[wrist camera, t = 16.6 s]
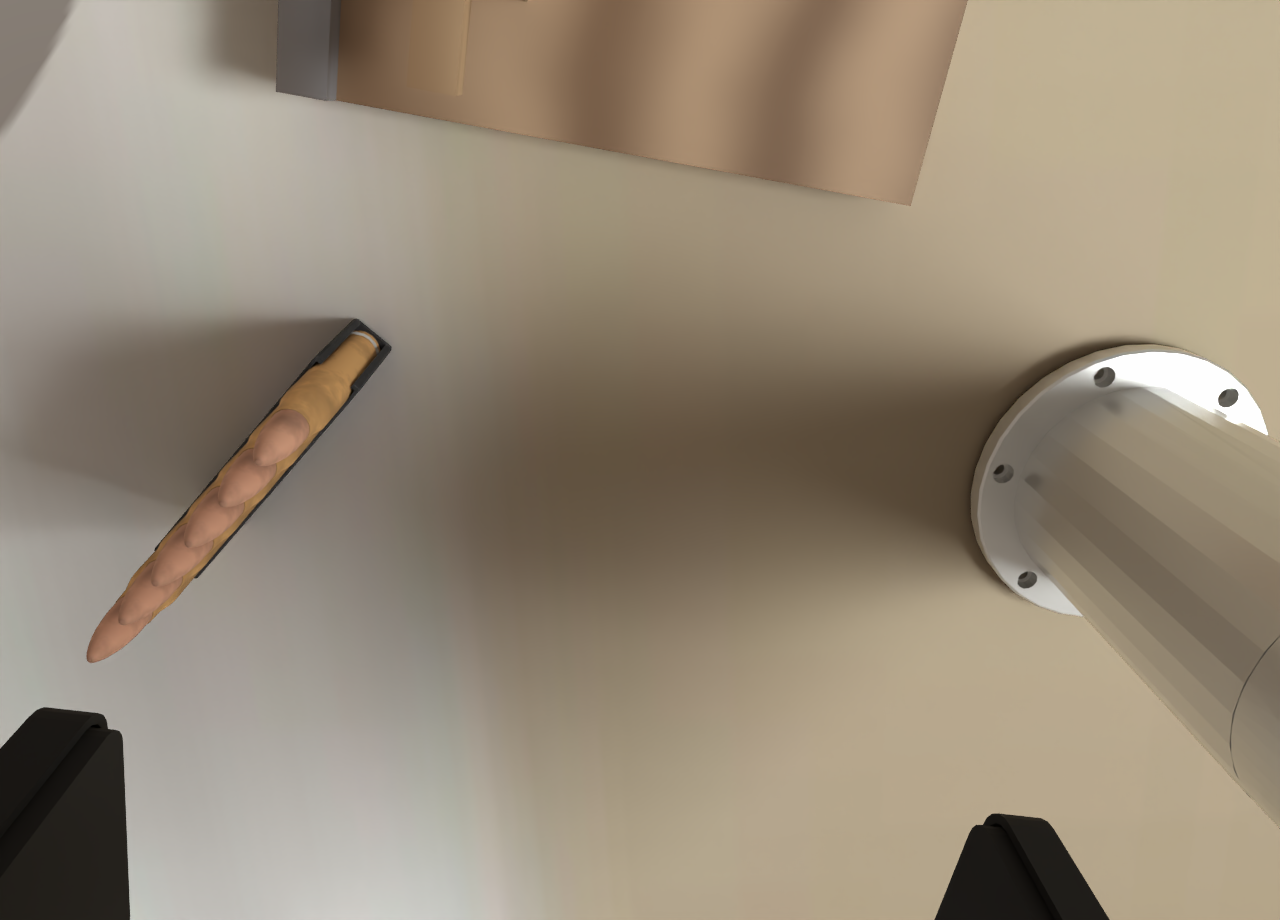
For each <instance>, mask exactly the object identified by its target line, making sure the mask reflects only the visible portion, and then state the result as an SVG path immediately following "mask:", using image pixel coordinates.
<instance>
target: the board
mask: <svg viewBox="0 0 1280 920" xmlns="http://www.w3.org/2000/svg"><path fill="white" fill-rule="evenodd" d="M967 1H968V0H528V2H525V1H520V0H472V2H471V12H470V22H469V32H468V42H467V52H466V63H465V73H464V83H463V93H462V95H459V96H452V95H446V94H441V93H436V92H431V91H425V90H420V89H415V88H410V87H406V85H407V72H408V58H409V45H410V32H411V19H412V6H413V0H279V1H278V38H277V76H276V92H281V93H287V94H292V95H298V96H303V97H308V98H314V99H319V100H325V101H332V100H337V101H343V102H348V103H354V104H359V105H364V106H370V107H375V108H381V109H386V110H392V111H397V112H403V113H408V114H413V115H419V116H424V117H430V118H435V119H441V120H446V121H451V122H457V123H462V124H468V125H473V126H479V127H484V128H490V129H495V130H500V131H506V132H511V133H517V134H522V135H528V136H533V137H538V138H544V139H549V140H555V141H560V142H566V143H571V144H577V145H582V146H587V147H593V148H598V149H604V150H609V151H615V152H620V153H626V154H631V155H636V156H642V157H647V158H653V159H658V160H664V161H669V162H674V163H680V164H685V165H691V166H696V167H702V168H707V169H713V170H718V171H723V172H729V173H734V174H740V175H745V176H751V177H756V178H762V179H767V180H772V181H778V182H783V183H789V184H794V185H800V186H805V187H810V188H816V189H821V190H827V191H832V192H838V193H843V194H849V195H854V196H859V197H865V198H870V199H876V200H881V201H887V202H892V203H898V204H903V205H908V206H911V202H912V199H913V195H914V191H915V188H916V184H917V181H918V177H919V173H920V170H921V166H922V163H923V159H924V156H925V152H926V148H927V145H928V141H929V138H930V134H931V130H932V127H933V123H934V120H935V116H936V112H937V109H938V105H939V102H940V98H941V95H942V91H943V87H944V84H945V80H946V77H947V73H948V69H949V66H950V62H951V59H952V55H953V51H954V48H955V44H956V41H957V37H958V34H959V30H960V26H961V23H962V19H963V16H964V12H965V8H966V5H967Z"/></svg>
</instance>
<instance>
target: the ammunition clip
mask: <svg viewBox="0 0 1280 920" xmlns="http://www.w3.org/2000/svg"><path fill="white" fill-rule="evenodd" d="M390 351H391V346H390V345H389V344H388V343H386V342H385V341H384V340H383V339H381V338H380V337H379V336H378V335H377V334H375V333H374V332H373V331H372V330H370V329H369V328H368V327H367V326H366V325H364V324H363V323H362V322H361V321H359V320H358V319H354V320H353V321H352V322H351V323H350V324H349V325H348V326H347V327H346V328H345V329H344V330H342V331H341V332H340V333H339V334H338V335H337V336H336V337H335V338H334V339H333V340H332V341H331V342H330V343H329V344H328V345H327V346H326V347H325V348H324V349H323V350H322V351H321V352H320V353H319V354H318V355H317V356H316V357H315V358H314V359H313V360H312V361H311V362H310V364H309V365H308V366H307V367H306V368H305V370H304V371H303V372H302V373H301V374H300V376H299V377H298V378H297V379H296V380H295V382H294V383H293V384H292V385H291V386H290V388H289V389H288V390H287V391H286V392H285V393H284V395H283V396H282V397H281V398H280V399H279V401H278V402H277V403H276V404H275V405H274V407H273V408H272V409H271V410H270V411H269V413H268V414H267V415H266V416H265V417H264V419H263V420H262V421H261V422H260V423H259V425H258V426H257V427H256V428H255V429H254V431H253V432H252V433H251V434H250V435H249V437H248V438H247V439H246V440H245V441H244V442H243V444H242V445H241V446H240V447H239V448H238V450H237V451H236V452H235V453H234V454H233V456H232V457H231V458H230V459H229V460H228V462H227V463H226V464H225V465H224V466H223V468H222V469H221V470H220V471H219V472H218V474H217V475H216V476H215V477H214V478H213V480H212V481H211V482H210V483H209V484H208V486H207V487H206V488H205V489H204V490H203V491H202V493H201V494H200V495H199V496H198V497H197V499H196V500H195V501H194V502H193V503H192V505H191V506H190V507H189V508H188V509H187V511H186V512H185V513H184V514H183V515H182V517H181V518H180V519H179V520H178V521H177V523H176V524H175V525H174V526H173V527H172V529H171V530H170V531H169V532H168V533H167V535H166V536H165V537H164V538H163V539H162V540H161V542H160V543H159V544H158V545H157V546H156V548H155V550H154V551H155V552H154V553H153V554H152V555H151V556H150V557H149V558H148V560H147V561H146V562H145V563H144V564H143V565H142V566H141V567H140V568H139V569H138V570H137V572H136V573H135V574H134V575H133V577H132V578H131V580H130V582H129V584H128V586H127V588H126V590H125V591H124V593H123V594H122V595H121V596H120V597H119V599H118V600H117V601H116V603H115V605H114V606H113V607H112V608H111V609H110V610H109V611H108V613H107V614H106V615H105V616H104V618H103V619H102V621H101V622H100V624H99V625H98V627H97V628H96V630H95V632H94V634H93V636H92V638H91V641H90V643H89V646H88V650H87V661H88V662H90V663H94V662H97V661H100V660H103V659H105V658H107V657H109V656H110V655H112V654H114V653H115V652H117V651H118V650H120V649H121V648H123V647H124V646H125V645H127V644H128V643H129V642H130V641H131V640H132V639H133V638H134V637H136V636H137V635H138V633H139V632H140V631H141V630H142V629H143V628H144V627H145V626H146V624H148V623H149V622H150V621H151V620H152V619H153V618H154V617H155V616H156V615H157V614H158V613H159V612H160V611H162V610H163V609H165V608H166V607H168V606H169V605H170V604H172V603H173V602H174V601H175V600H176V599H177V597H178V596H179V595H180V594H181V593H182V591H183V590H184V589H185V588H186V587H187V585H188V584H189V583H190V582H191V581H192V580H193V578H198V577H199V576H200V575H201V573H202V572H203V571H204V570H205V569H206V568H207V566H208V565H209V564H210V563H211V562H212V561H213V560H214V558H215V557H216V556H217V555H218V554H219V553H220V551H221V550H222V549H223V548H224V547H225V546H226V544H227V543H228V542H229V541H230V540H231V539H232V538H233V536H234V535H235V534H236V533H237V532H238V531H239V529H240V528H241V527H242V526H243V525H244V524H245V523H246V521H247V520H248V519H249V518H250V517H251V516H252V514H253V513H254V512H255V511H256V510H257V509H258V507H259V506H260V505H261V504H262V503H263V502H264V501H265V499H266V498H267V497H268V496H269V495H270V494H271V492H272V491H273V490H274V489H275V488H276V487H277V486H278V484H279V483H280V482H281V481H282V480H283V479H284V477H285V476H286V475H287V474H288V473H289V472H290V470H291V469H292V468H293V467H294V466H295V465H296V464H297V462H298V461H299V460H300V459H301V458H302V457H303V455H304V454H305V453H306V452H307V451H308V450H309V449H310V447H311V446H312V445H313V444H314V443H315V442H316V440H317V439H318V438H319V437H320V436H321V435H322V433H323V432H324V431H325V430H326V429H327V428H328V427H329V425H330V424H331V423H332V422H333V421H334V420H335V418H336V417H337V416H338V415H339V414H340V413H341V412H342V410H343V409H344V408H345V407H346V406H347V405H348V403H349V402H350V401H351V400H352V399H353V398H354V396H355V395H356V394H357V393H358V392H359V391H360V389H361V388H362V387H363V386H364V384H365V383H366V382H367V380H368V379H369V378H370V377H371V375H372V374H373V373H374V372H375V370H376V369H377V368H378V367H379V365H380V364H381V363H382V361H383V360H384V359H385V358H386V356H387V355H388V354H389V353H390Z"/></svg>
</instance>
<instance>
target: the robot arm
mask: <svg viewBox="0 0 1280 920" xmlns="http://www.w3.org/2000/svg"><path fill="white" fill-rule="evenodd" d="M1097 371H1098V373H1097V374H1096V372H1097ZM1095 374H1096V375H1095ZM998 466H999V468H998V469H996V468H997V467H998ZM995 469H996V470H995ZM971 520H972V524H973V528H974V532H975V536H976V541H977V543H978V545H979V547H980V549H981V551H982V553H983V555H984V557H985V559H986V561H987V562H988V563H989V565H990V566H991V567H992V568H993V570H994V571H995V572H996V573H997V575H998V576H999V577H1000V579H1001V580H1002V581H1003V582H1004V583H1005V584H1006V585H1007V586H1008V587H1009V588H1010V589H1011V590H1012V591H1013V592H1015V593H1016V594H1017V595H1019V596H1021V597H1022V598H1024V599H1026V600H1027V601H1029V602H1031V603H1033V604H1034V605H1036V606H1038V607H1041V608H1044V609H1047V610H1050V611H1053V612H1056V613H1059V614H1065V615H1072V616H1079V617H1085V619H1086V620H1087V621H1088V622H1089V623H1090V624H1091V625H1092V626H1093V627H1094V628H1095V629H1096V631H1097V632H1098V633H1099V634H1100V635H1101V636H1102V637H1103V638H1104V639H1105V640H1106V641H1107V642H1108V644H1109V645H1110V646H1111V647H1112V648H1113V649H1114V650H1115V651H1116V652H1117V653H1118V654H1119V656H1120V657H1121V658H1122V659H1123V660H1124V661H1125V662H1126V663H1127V664H1128V665H1129V666H1130V668H1131V669H1132V670H1133V671H1134V672H1135V673H1136V674H1137V675H1138V676H1139V677H1140V678H1141V680H1142V681H1143V682H1144V683H1145V684H1146V685H1147V686H1148V687H1149V688H1150V689H1151V690H1152V692H1153V693H1154V694H1155V695H1156V696H1157V697H1158V698H1159V699H1160V700H1161V701H1162V702H1163V704H1164V705H1165V706H1166V707H1167V708H1168V709H1169V710H1170V711H1171V712H1172V713H1173V714H1174V716H1175V717H1176V718H1177V719H1178V720H1179V721H1180V722H1181V723H1182V724H1183V725H1184V726H1185V728H1186V729H1187V730H1188V731H1189V732H1190V733H1191V734H1192V735H1193V736H1194V737H1195V738H1196V740H1197V741H1198V742H1199V743H1200V744H1201V745H1202V746H1203V747H1204V748H1205V749H1206V750H1207V752H1208V753H1209V754H1210V755H1211V756H1212V757H1213V758H1214V759H1215V760H1216V761H1217V762H1218V764H1219V765H1220V766H1221V767H1222V768H1223V769H1224V770H1225V771H1226V772H1227V773H1228V774H1229V775H1230V777H1231V778H1232V779H1233V780H1234V781H1235V782H1236V783H1237V784H1238V785H1239V786H1240V787H1241V788H1242V789H1243V791H1244V792H1245V793H1246V794H1247V795H1248V796H1249V797H1250V798H1252V799H1253V801H1254V802H1255V803H1256V804H1257V805H1258V806H1259V807H1260V808H1261V809H1262V810H1263V811H1264V813H1265V814H1266V815H1267V816H1268V817H1269V818H1270V819H1271V820H1272V821H1273V822H1274V823H1275V824H1276V825H1277V826H1278V828H1279V829H1280V441H1278V440H1276V439H1274V438H1272V437H1270V436H1268V430H1267V427H1266V424H1265V421H1264V418H1263V415H1262V412H1261V409H1260V407H1259V405H1258V404H1257V402H1256V401H1255V399H1254V398H1253V396H1252V395H1251V393H1250V392H1249V390H1248V389H1247V387H1246V386H1245V385H1244V384H1243V383H1241V382H1240V381H1239V380H1238V379H1237V378H1236V377H1235V376H1234V375H1233V374H1232V373H1231V372H1229V371H1228V370H1226V369H1225V368H1223V367H1221V366H1219V365H1217V364H1215V363H1214V362H1212V361H1210V360H1208V359H1206V358H1204V357H1201V356H1199V355H1196V354H1194V353H1191V352H1189V351H1186V350H1183V349H1180V348H1174V347H1168V346H1162V345H1156V344H1146V345H1124V346H1119V347H1115V348H1110V349H1105V350H1100V351H1097V352H1094V353H1091V354H1089V355H1086V356H1084V357H1081V358H1079V359H1076V360H1074V361H1071V362H1069V363H1067V364H1066V365H1064V366H1062V367H1060V368H1059V369H1057V370H1055V371H1054V372H1052V373H1050V374H1049V375H1047V376H1045V377H1044V378H1042V379H1041V380H1040V381H1039V382H1037V383H1036V384H1035V385H1034V386H1033V387H1031V388H1030V389H1029V390H1028V391H1027V392H1025V393H1024V394H1023V395H1022V396H1021V397H1020V398H1019V399H1018V400H1017V401H1016V402H1015V403H1014V404H1013V406H1012V407H1011V408H1010V409H1009V410H1008V411H1007V412H1006V414H1005V415H1004V416H1003V417H1002V418H1001V419H1000V421H999V422H998V424H997V426H996V427H995V429H994V431H993V432H992V434H991V436H990V437H989V439H988V440H987V442H986V444H985V446H984V449H983V451H982V454H981V456H980V459H979V461H978V464H977V466H976V469H975V474H974V479H973V485H972V490H971ZM0 920H130V903H129V879H128V855H127V831H126V806H125V782H124V758H123V740H122V735H121V733H120V731H117V730H111V729H108V726H107V721H106V719H105V717H104V715H102V714H99V713H91V712H82V711H73V710H64V709H55V708H46V707H44V708H41V709H38V710H36V711H35V712H34V713H33V714H32V715H31V716H29V718H28V719H27V720H26V721H25V722H24V723H23V724H22V725H21V726H20V728H19V729H18V730H17V731H16V732H15V733H14V734H13V735H12V736H11V737H10V739H9V740H8V741H7V742H6V743H5V744H4V745H3V746H2V747H1V749H0ZM935 920H1109V918H1108V917H1107V915H1106V913H1105V912H1104V910H1103V908H1102V907H1101V905H1100V904H1099V902H1098V900H1097V899H1096V897H1095V895H1094V894H1093V892H1092V891H1091V889H1090V887H1089V886H1088V884H1087V882H1086V881H1085V879H1084V877H1083V876H1082V874H1081V873H1080V871H1079V869H1078V868H1077V866H1076V864H1075V863H1074V861H1073V860H1072V858H1071V856H1070V855H1069V853H1068V851H1067V850H1066V848H1065V847H1064V845H1063V843H1062V842H1061V840H1060V838H1059V837H1058V835H1057V834H1056V832H1055V830H1054V829H1053V828H1052V826H1051V825H1050V824H1049V823H1048V822H1047V821H1045V820H1043V819H1042V818H1033V817H1024V816H1015V815H1006V814H991V815H990V816H989V817H987V819H986V820H985V822H984V824H983V825H976V826H974V827H973V828H972V830H971V831H970V833H969V836H968V838H967V840H966V843H965V845H964V848H963V850H962V853H961V855H960V858H959V860H958V863H957V865H956V868H955V870H954V873H953V875H952V878H951V880H950V883H949V885H948V888H947V890H946V893H945V895H944V898H943V900H942V903H941V905H940V908H939V910H938V913H937V915H936V918H935Z"/></svg>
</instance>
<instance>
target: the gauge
mask: <svg viewBox="0 0 1280 920" xmlns="http://www.w3.org/2000/svg"><path fill="white" fill-rule="evenodd" d="M520 1H525V2H528V0H520ZM471 2H472V0H413V6H412V19H411V32H410V45H409V58H408V72H407V85H406V87H410V88H415V89H420V90H425V91H431V92H436V93H441V94H446V95H452V96H459V95H462V93H463V83H464V73H465V63H466V52H467V42H468V32H469V22H470V12H471Z"/></svg>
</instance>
